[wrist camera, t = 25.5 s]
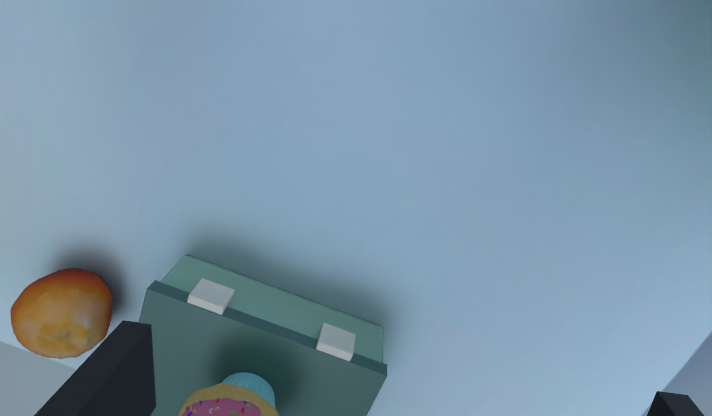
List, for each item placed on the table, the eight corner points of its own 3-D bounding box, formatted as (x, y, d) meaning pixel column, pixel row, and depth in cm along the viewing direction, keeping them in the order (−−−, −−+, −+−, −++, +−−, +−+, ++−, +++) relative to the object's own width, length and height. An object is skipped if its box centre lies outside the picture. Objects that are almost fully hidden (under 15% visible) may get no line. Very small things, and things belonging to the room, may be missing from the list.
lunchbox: (151, 365, 49) (114, 417, 43) (185, 243, 44) (148, 280, 37) (336, 431, 50) (328, 490, 44) (391, 319, 45) (391, 368, 39)
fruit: (19, 247, 44) (7, 300, 37) (115, 250, 48) (118, 299, 41) (15, 318, 46) (3, 378, 40) (106, 315, 51) (107, 369, 44)
